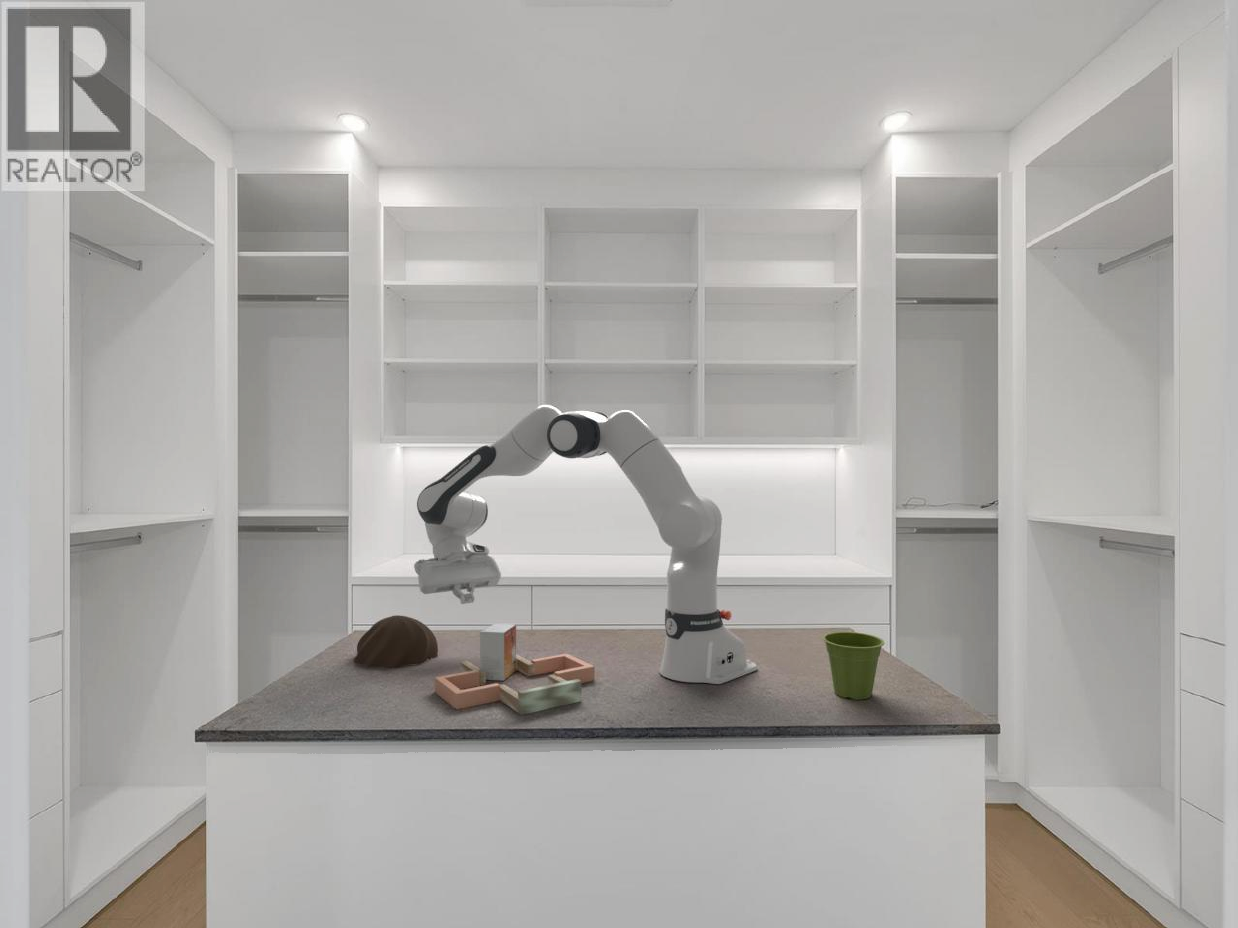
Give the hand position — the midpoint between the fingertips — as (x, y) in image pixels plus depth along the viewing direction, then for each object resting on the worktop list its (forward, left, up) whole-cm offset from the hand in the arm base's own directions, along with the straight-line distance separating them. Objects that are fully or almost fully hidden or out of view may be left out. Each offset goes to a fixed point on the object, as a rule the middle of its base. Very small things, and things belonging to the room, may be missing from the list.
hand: (468, 601), depth 169 cm
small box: (0, +18, -13) cm, 22 cm away
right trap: (-10, +27, -13) cm, 32 cm away
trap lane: (0, +27, -13) cm, 30 cm away
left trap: (+10, +27, -13) cm, 32 cm away
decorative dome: (+14, -10, -13) cm, 22 cm away
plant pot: (-54, +70, -13) cm, 89 cm away
